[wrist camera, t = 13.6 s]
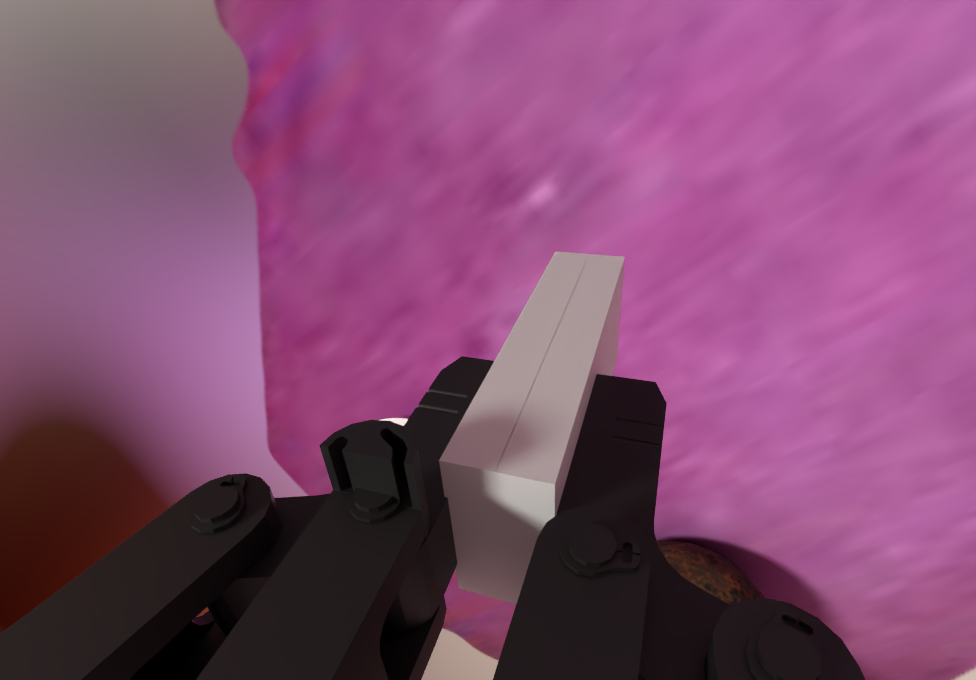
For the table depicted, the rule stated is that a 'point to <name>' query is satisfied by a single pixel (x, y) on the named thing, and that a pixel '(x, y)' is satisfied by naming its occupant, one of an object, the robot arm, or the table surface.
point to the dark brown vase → (709, 571)
